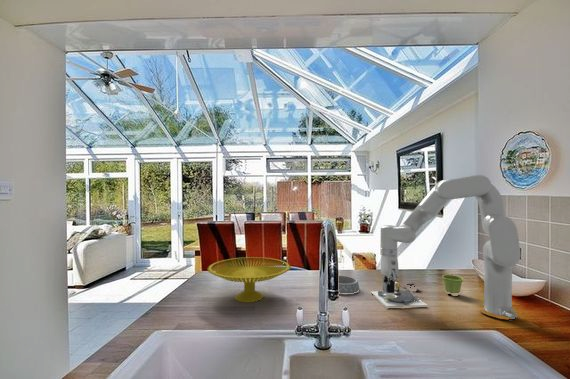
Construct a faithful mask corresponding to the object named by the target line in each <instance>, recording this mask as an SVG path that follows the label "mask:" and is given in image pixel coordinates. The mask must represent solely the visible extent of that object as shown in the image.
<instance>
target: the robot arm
mask: <svg viewBox="0 0 570 379" xmlns="http://www.w3.org/2000/svg"><path fill="white" fill-rule="evenodd" d="M473 197H474V198H475V199H476V200H477V202H478V206H479V212H480V218H481V226H482V230H483V232H484V233H485V234H487V235H488V236H489V238H488V239H489V240H487V241H486V242H484V245H483V247H482V256H483V258H482V259H483V266H484V267H483V268H484V269H483V272H484V275H483V277H484V278H483V281H484V282H483V290H484V291H483V296H484V297H483V306H484V309H485V310H486V311H487V312H489V313H492V314H495V315H499V316H505V317H509V318H511V319H515V317H516V318H518V316H519V314H518V313H516V312H514V307H512V305H513V303H512V302H513V301H512V300H513V299H512V298H513V296H512V295H513V294H512V293H513V286H512V285H513V284H512V283H513V272H512V271H513V269H512V267H514V266H516V265H517V264H518V263H519V262H520V259H521V247H520V240H519V233H518V232H519V231H518V228H517V225H516V222H514V220H512V219H511V217H508V216H506V211H505V207H504V201H503V198H502V194H501V192H500V191H499V190H498V188H497V187H496V186H495V185H494V184H492V181H491V179H489V177H487V176H486V175H482V174H475V175H474V174H473V175H469V176H465V177H464V176H463V177H458V178H449V179H442V180H439V181H438V182H437V183H435V185H434V186H433V187H432V188H431V189H430V191H429V192H428V193H427V194H426V196H424V198H423V199H422V200H421V201H420V202H419V203H418V205H417V206H416V207H415V208H414V210H412V212H411V213H410V214H409V215H408V216H407V217H406V219H404V221H403V222H402V223H401V224H400V225H399V226H395V225H388V224H387V225H386V224H384V225H381V227H380V272H381V275H382V283H383V282H388V284H387V292H388V293H394V284H395V285H396V282H397V281H396V280H397V279H399V276H400V275H399V271H400V270H399V259H398V243H401V244H402V243H403V244H411V243H413V242H415V240H416V237H417V235H416V234H417V232H418V231H420V229H421V228H422V227H423V225H425V224H426V223H427V222H428V221H430V220H432V219H434V218H435V217H436V216H437V215H438V214H439V213H440V212H441V210H442V209H443V208H444V207H445V206H446V205H447V204H448V202H450V200H457V199H459V200H460V199H467V198H473ZM515 320H516V319H515Z"/></svg>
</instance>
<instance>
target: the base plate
mask: <svg viewBox="0 0 570 379" xmlns="http://www.w3.org/2000/svg"><path fill="white" fill-rule="evenodd" d="M378 291H379V290H377V291H375V290H374V291H370V294H371V293H372V294H373V295H375V297H376V298H377V299H378V300H379V301H380V302H381V303H382V304H383V305H384V306H385V307H403V306H424V305H428V304H427V303H426V302H424V301H423V300H421V299H420V300H419V301H417V302H416V301H414V300H413V301H412V302H409V304H403V303H398V302H392V301H388V302H387V301H384V298H383V297H382V296H381V295H378ZM377 299H376V300H377ZM378 300H377V301H378ZM379 301H378V302H379ZM422 301H423V302H422ZM380 302H379V303H380ZM381 303H380V304H381ZM382 304H381V305H382ZM383 305H382V306H383ZM384 306H383V307H384ZM385 307H384V308H385Z"/></svg>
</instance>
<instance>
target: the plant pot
mask: <svg viewBox="0 0 570 379" xmlns="http://www.w3.org/2000/svg"><path fill="white" fill-rule="evenodd" d="M441 278H442V280H443V284H444V291H445V290H446V291H447V292H450V293H459V292H460V293H461V289H462V283H463V281H464V278H463V277H461V276H458V275H453V274H443V275H442V276H441Z"/></svg>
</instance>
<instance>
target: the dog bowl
mask: <svg viewBox="0 0 570 379" xmlns="http://www.w3.org/2000/svg"><path fill="white" fill-rule="evenodd" d="M338 275H339V274H338ZM359 289H360V285H359V279H357V278H355V277H352V276H349V275H342V274H341V275H339V292H340V293H354V292H357V291H358V290H359Z"/></svg>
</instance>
